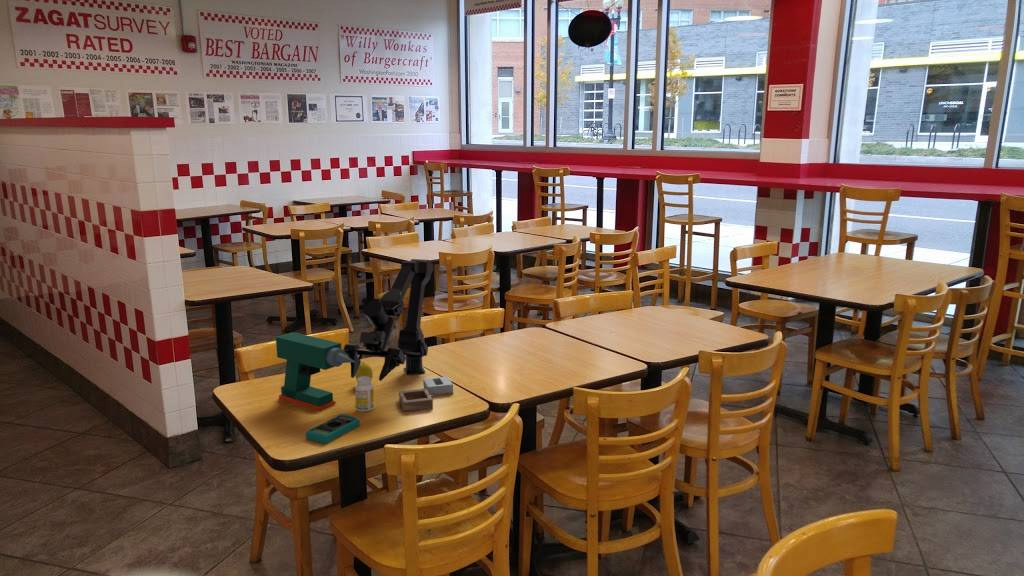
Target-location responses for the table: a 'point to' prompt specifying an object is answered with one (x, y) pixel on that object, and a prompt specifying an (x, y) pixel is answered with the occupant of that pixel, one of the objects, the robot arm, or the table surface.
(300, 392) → the power tool
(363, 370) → the lemon
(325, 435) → the digital multimeter
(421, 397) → the walnut socket block
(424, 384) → the grey slot block
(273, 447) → the table surface
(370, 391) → the supplement bottle
